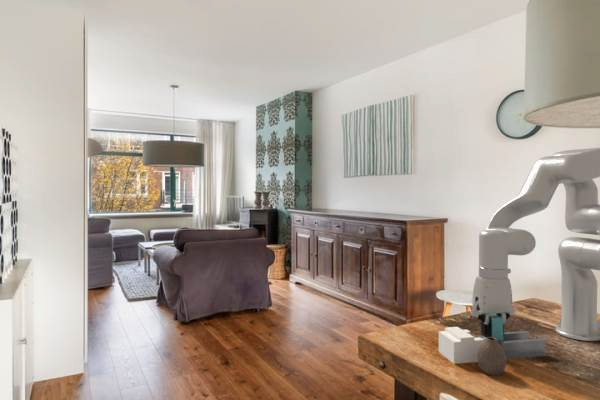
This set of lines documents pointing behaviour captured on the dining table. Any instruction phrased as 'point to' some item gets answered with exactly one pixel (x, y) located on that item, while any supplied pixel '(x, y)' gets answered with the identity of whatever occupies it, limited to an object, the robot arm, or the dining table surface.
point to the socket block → (459, 345)
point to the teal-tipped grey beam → (495, 327)
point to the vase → (491, 357)
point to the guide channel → (522, 345)
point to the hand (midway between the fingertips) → (492, 335)
